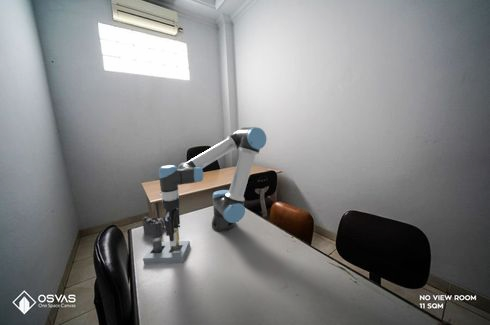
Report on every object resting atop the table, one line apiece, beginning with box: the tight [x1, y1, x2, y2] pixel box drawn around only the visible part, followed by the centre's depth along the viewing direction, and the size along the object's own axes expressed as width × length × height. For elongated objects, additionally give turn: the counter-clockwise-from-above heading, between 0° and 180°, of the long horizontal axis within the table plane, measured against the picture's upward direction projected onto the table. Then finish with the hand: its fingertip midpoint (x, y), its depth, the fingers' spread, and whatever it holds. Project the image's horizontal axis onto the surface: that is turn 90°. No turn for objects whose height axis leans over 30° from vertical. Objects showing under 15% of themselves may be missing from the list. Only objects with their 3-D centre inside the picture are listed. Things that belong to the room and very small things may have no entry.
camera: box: [142, 216, 165, 239], centre depth 106 cm, size 14×11×10 cm
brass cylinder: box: [170, 230, 180, 249], centre depth 85 cm, size 4×4×8 cm
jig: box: [142, 237, 191, 265], centre depth 86 cm, size 18×12×8 cm, turn 91°
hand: (174, 242), depth 86 cm, fingers closed on brass cylinder, 4 cm apart
